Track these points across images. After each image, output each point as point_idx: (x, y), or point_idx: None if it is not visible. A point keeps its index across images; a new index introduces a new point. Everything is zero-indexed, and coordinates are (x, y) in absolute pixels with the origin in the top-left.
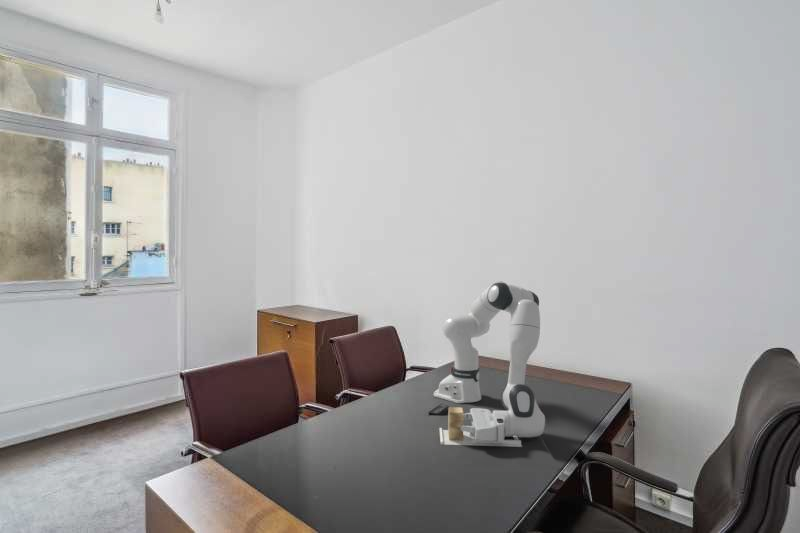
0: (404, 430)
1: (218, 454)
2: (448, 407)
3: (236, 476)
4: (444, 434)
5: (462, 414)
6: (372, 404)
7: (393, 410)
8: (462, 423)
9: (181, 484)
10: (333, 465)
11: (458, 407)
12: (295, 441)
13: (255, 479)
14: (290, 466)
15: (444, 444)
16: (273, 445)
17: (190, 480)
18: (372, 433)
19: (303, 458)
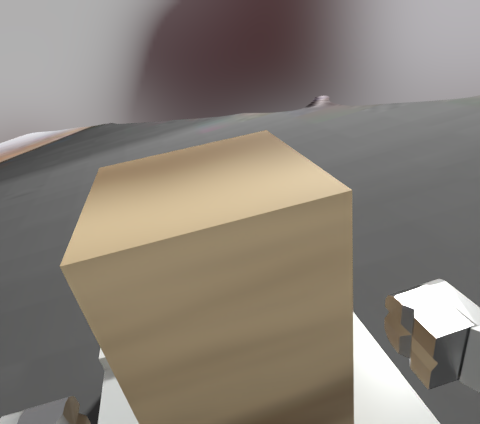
0: None
1: (103, 124)
2: (265, 133)
3: (30, 150)
4: None
5: (80, 286)
6: (424, 113)
7: (435, 140)
8: (135, 402)
9: (24, 139)
10: (32, 191)
11: (313, 167)
12: (151, 135)
13: (12, 160)
14: (47, 163)
15: (103, 380)
16: (133, 132)
17: (32, 138)
18: None
19: (77, 160)
